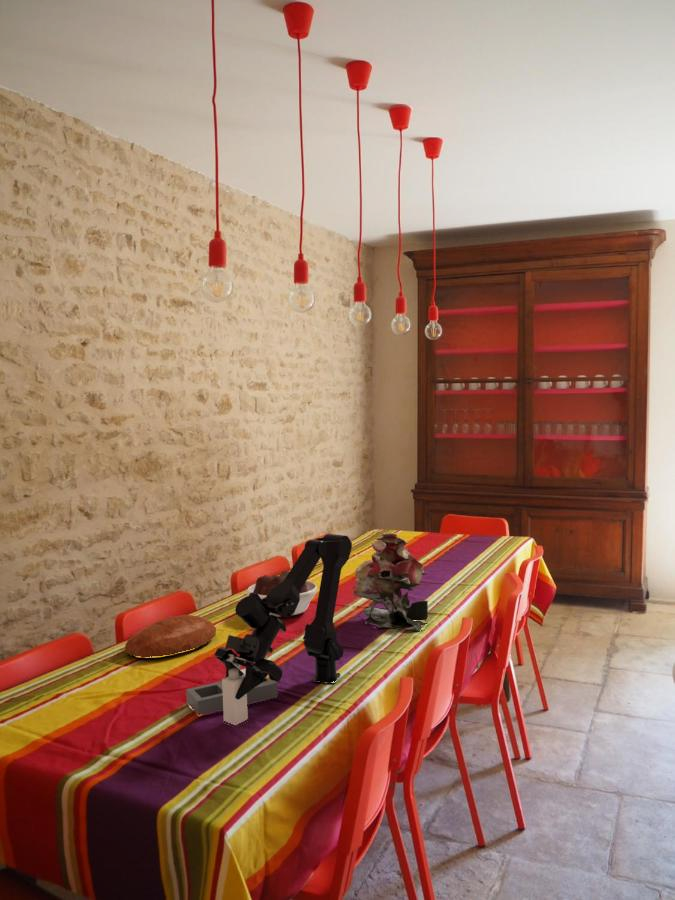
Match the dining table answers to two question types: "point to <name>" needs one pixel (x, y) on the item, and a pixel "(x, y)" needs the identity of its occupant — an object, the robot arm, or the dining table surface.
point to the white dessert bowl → (268, 583)
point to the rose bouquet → (391, 583)
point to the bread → (171, 636)
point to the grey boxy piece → (212, 695)
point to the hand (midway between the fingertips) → (230, 696)
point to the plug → (233, 699)
